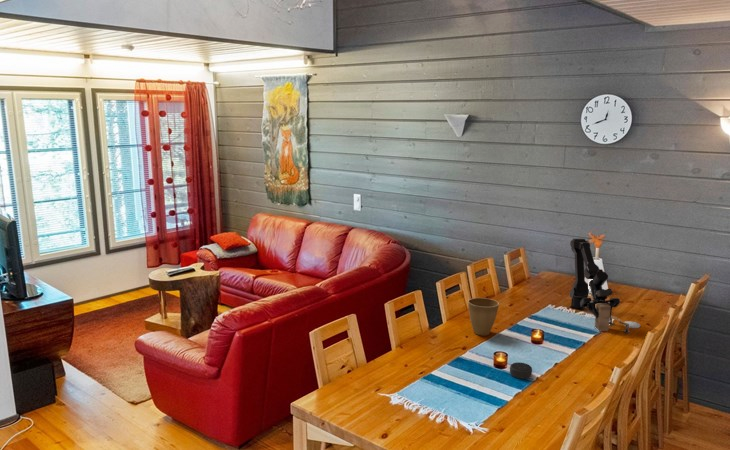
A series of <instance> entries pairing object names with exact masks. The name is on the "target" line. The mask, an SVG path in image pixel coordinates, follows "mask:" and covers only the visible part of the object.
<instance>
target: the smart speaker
mask: <svg viewBox="0 0 730 450" xmlns="http://www.w3.org/2000/svg"><path fill="white" fill-rule="evenodd" d="M509 374H510V375H511V376H512V377H514V378H517V379H520V380H521V379H522V380H525V379H529V378H531V377H532V375H533V367H532V366H531V365H529V364H528V363H525V362H518V361H517V362H514V363H511V364H510V366H509Z"/></svg>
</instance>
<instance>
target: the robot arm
mask: <svg viewBox="0 0 730 450" xmlns="http://www.w3.org/2000/svg"><path fill="white" fill-rule="evenodd" d="M570 247H571V251H572V252H573V254H574V271H575V273H574V276H575V278H574V279H575V280H574V281H573V283H572V288H571V289H570V291H569V297H570V298H571V302H570V306H569V308H571V309H575V310H578V311H582V310H584V309H585V308H586V309H587V310H589V311H590V312H591V313H592V314H593V315H594V317H596V318H598V314H597V311H596V305H597V303H607V304H608V305H610V306H611V308H610V318H611V316H612V310H613V308H617V307H618V306H619V305H620V303H621V299H620V298H619V297H611V298H610V299H609V300H607V299H608V297H610V296H613V289H612V288H606V289H604V288H603V286H604V284H605V283H606V282H607V280H608V279H609V275H608V273H607V272H605V271H604V270H603V269H602V268H601V269H600V267H599V265H597V264H596V263H595V260H594V257H593V254H592V253H593V252H592V250H591V243H590V241H589V240H586V239H585V238H572V240H570ZM585 277H586V279H593V280H591V281H590V282H589V286H590V289H591V292H590V291H589V289H588V283H586V282H585ZM589 293H591V294H590V297H589ZM591 297H592V298H591Z"/></svg>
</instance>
